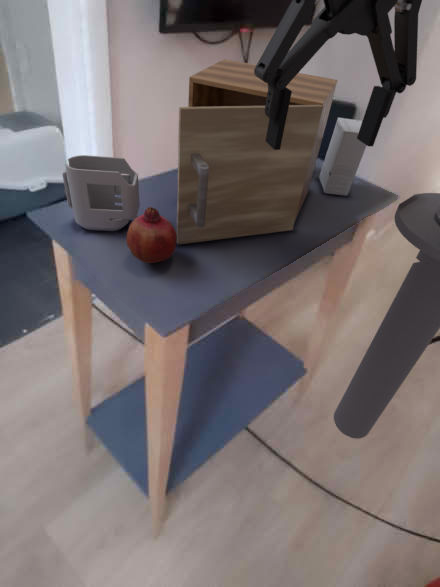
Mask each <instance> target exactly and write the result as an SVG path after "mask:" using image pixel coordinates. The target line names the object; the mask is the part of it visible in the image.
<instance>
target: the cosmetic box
mask: <svg viewBox="0 0 440 587" xmlns="http://www.w3.org/2000/svg"><path fill="white" fill-rule="evenodd" d="M362 121H363V120H359V119H353V118H352V119H351V118H345V117H337V120H336V123H335V125H334V128H333V133H332V135H331V139H330V142H329V145H328V148H327V151H326V154H325V157H324V160H323V163H322V167H321V169H320V173H319V176H318V179H319V182H320V184H321V186H322V190H323V193H324V194H326V195H327V194H328V195H337V196H344V197H345V196H346V197H348V196H349V193H350V190H351V187H352V184H353V182H354V180H355V177H356V175H357V171H358V169H359V166H360V164H361V162H362V158H363V155H364V154H365V150H366V149H367V145H365V144H364V143H362V142H361V141H360V140H358V139H357V136H358V133H359V130H360V127H361V124H362Z"/></svg>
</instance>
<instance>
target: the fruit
mask: <svg viewBox="0 0 440 587" xmlns="http://www.w3.org/2000/svg"><path fill="white" fill-rule="evenodd" d="M125 241H126V246H127V247H128V249H129V251H130V252H131V254H132V256H133V257H135V258H136V259H137V260H139V261H141V262H143V263H145V264H146V263H147V264H152V263H153V264H154V263H161V262H164V261H166V260H168V259H170V257H172V255H173V254H174V252H175V250H176V248H177V247H176V246H177V245H176V244H177V230H176V229H175V227H174V226H173V225H172V224H171V222H170V221H169V220H168V219H167V218H166V217H164V216H162V215H160V213H159V211H158V209H157V208H155V207H154V208H153V206H148V208H145V211H144V212H143V214H141V215H139V216H137V217H136V218H134V219H132V222H130V224H129V226H128V229H127V232H126V239H125Z"/></svg>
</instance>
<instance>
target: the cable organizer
mask: <svg viewBox="0 0 440 587" xmlns="http://www.w3.org/2000/svg"><path fill="white" fill-rule="evenodd" d="M67 162H68V163H64V167H65V170H63V172H62V181H63V185H64V191H65V195H66V196H65V197H66V201H67V206H68V208H70V209H72V211H73V216H74V222H75V223H76V224H77V225H79V226H80V227H82V228H83V229H85V230H91V231H105V232H116V231H120V230H121V229H123V228H124V227H125V226H126V225H128V224H129V222H130V220H134V219H135V218H137V217H138V214H139V209H140V204H141V203H140V202H141V201H140V186H139V185H140V184H139V174H138V172H136V171H135V170H134V169H132V167H131V166H130V164H129V163H128V161H127V160H126V159H125V157H115V156H102V155H101V156H100V155H87V154H86V155H84V154H81V155H74V156H71V157H69V158H67Z"/></svg>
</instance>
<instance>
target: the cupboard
mask: <svg viewBox="0 0 440 587" xmlns="http://www.w3.org/2000/svg"><path fill="white" fill-rule="evenodd" d="M256 65H257V64H254V63H249V62H243V61H238V60H232V59H226V58H224V59H222V60H219V61H218V62H216V63H214V64H212V65H210V66H208V67H206V68H203V69H202V70H200V71H198V72H195V73H194V74H192V75H191V76H189V77H188V103H187V104H188V105H187V107H213V106H265V104H266V98H267V92H268V84H267V83H265V82H264V81H262V80H261V79H259V78H258V77H257V76H256V75H255V74H254V69H255V67H256ZM337 84H338V79H336V78H335V79H333V78H329V77H324V76H317V75H313V74H307V73H302V72H299V73H298V74H297V75H296V76H295V77H294V78H293V79H292V80H291V82H290V83H289V84H288V85H287V86H286V88H288V89H289V90H291V91H292V93H291V98H290V103H289V105H322V106H323V110H322V114H321V118H320V122H319V126H318V130H317V134H316V138H315V142H314V146H313V150H312V154H311V158H310V162H309V166H308V170H307V174H306V178H305V182H304V186H303V190H302V194H301V198H300V202H299V206H298V210H297V214H296V218H295V222H296V220H297V218H298V215H299V213H300V212H301V209H302V207H303V204H304V202H305V200H306V199H307V198H306V197H307V195H308V193H309V191H310V186H311V184H312V179H313V175H314V172H315V167H316V164H317V160H318V157H319V156H318V155H319V152H320V148H321V145H322V141H323V138H324V135H325V130H326V126H327V123H328V118H329V114H330V110H331V107H332V103H333V100H334V95H335V92H336V88H337ZM295 222H294V224H295Z"/></svg>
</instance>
